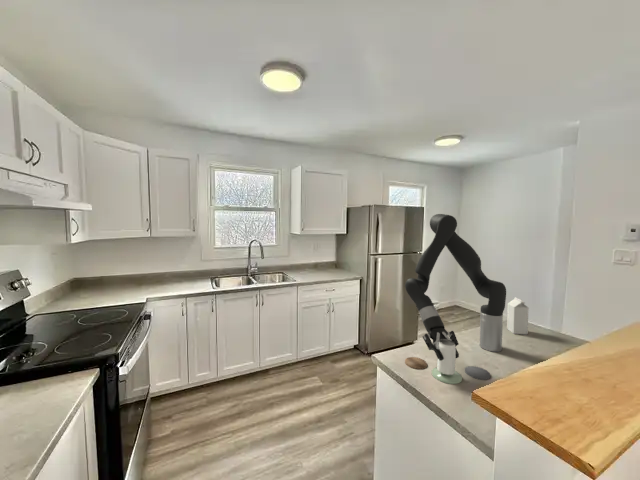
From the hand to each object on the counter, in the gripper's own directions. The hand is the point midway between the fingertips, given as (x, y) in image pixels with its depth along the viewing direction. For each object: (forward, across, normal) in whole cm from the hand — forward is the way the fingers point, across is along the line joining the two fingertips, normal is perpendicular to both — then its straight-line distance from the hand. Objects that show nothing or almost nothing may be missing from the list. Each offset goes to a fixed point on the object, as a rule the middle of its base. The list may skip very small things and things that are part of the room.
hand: (449, 358), depth 106 cm
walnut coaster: (-3, -6, +15) cm, 17 cm away
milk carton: (-15, +69, +27) cm, 75 cm away
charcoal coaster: (+6, +13, +6) cm, 16 cm away
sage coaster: (+5, 0, +7) cm, 8 cm away
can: (+3, 0, +6) cm, 6 cm away
